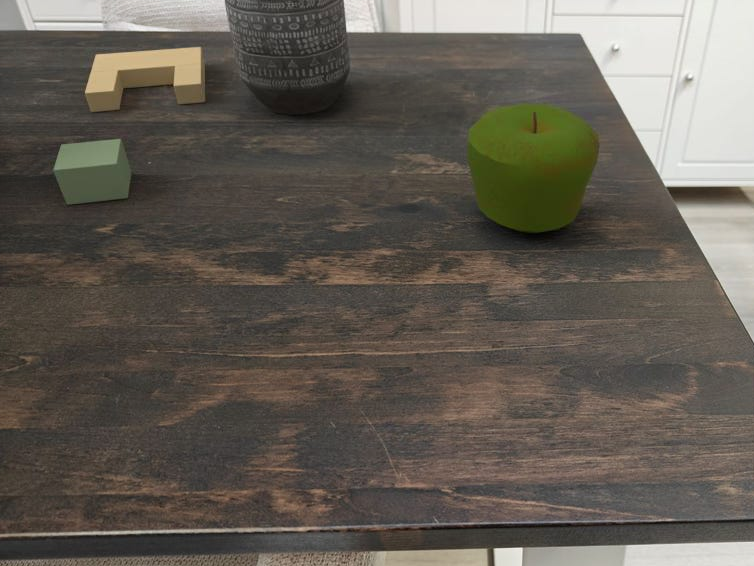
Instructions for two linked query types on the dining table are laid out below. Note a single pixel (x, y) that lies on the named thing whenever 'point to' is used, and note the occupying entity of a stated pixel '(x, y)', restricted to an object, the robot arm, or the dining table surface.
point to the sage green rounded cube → (93, 171)
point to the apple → (531, 165)
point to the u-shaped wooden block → (146, 75)
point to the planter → (290, 51)
